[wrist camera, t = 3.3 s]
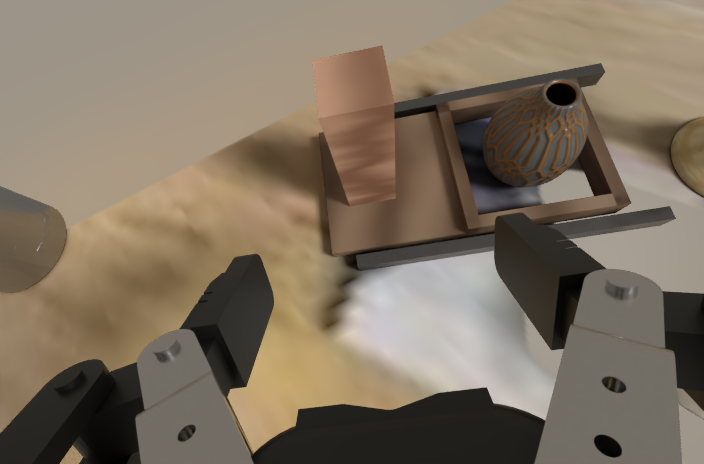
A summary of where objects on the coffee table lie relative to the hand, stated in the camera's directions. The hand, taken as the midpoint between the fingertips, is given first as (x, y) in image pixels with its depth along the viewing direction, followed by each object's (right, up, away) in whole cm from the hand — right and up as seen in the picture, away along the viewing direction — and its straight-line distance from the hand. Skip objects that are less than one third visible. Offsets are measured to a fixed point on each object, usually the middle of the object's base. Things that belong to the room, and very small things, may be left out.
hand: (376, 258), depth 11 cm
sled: (+8, +6, +18) cm, 21 cm away
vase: (+14, +7, +18) cm, 24 cm away
